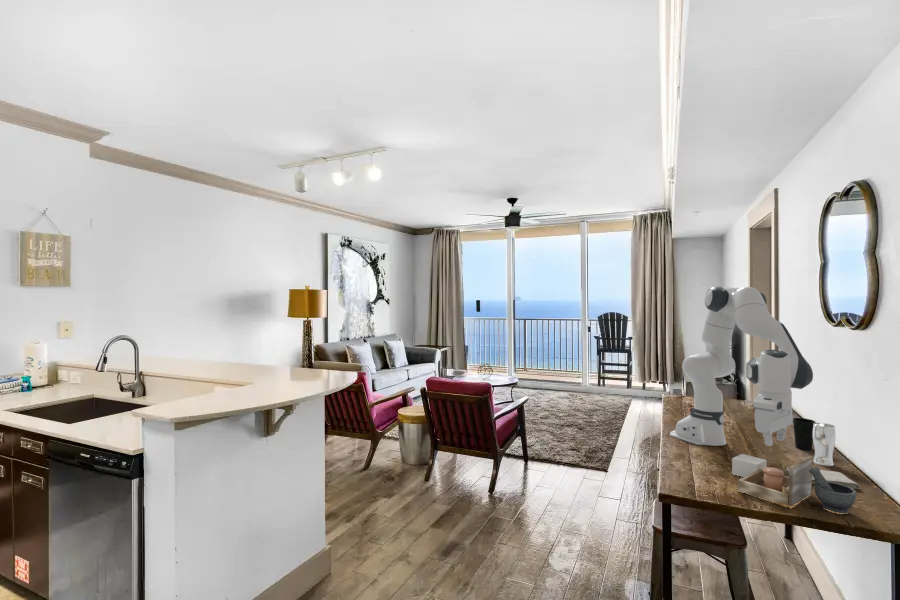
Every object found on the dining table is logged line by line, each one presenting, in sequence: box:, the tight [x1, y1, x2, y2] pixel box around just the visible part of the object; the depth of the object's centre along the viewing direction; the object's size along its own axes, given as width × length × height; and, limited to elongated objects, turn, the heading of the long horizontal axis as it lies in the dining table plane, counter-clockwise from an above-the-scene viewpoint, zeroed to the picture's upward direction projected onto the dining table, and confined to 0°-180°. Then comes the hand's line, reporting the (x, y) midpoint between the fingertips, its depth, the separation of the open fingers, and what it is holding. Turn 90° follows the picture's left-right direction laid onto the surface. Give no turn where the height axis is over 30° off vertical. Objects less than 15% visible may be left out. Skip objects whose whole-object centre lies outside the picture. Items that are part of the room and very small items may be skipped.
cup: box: [792, 417, 817, 452], centre depth 196 cm, size 8×8×12 cm
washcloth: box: [785, 466, 861, 490], centre depth 162 cm, size 12×18×3 cm, turn 72°
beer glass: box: [812, 422, 837, 467], centre depth 179 cm, size 7×7×15 cm
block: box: [731, 453, 768, 478], centre depth 166 cm, size 8×8×6 cm
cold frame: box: [737, 455, 813, 506], centre depth 151 cm, size 15×17×13 cm
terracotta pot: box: [763, 466, 785, 492], centre depth 151 cm, size 6×6×7 cm
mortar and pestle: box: [809, 467, 858, 513], centre depth 140 cm, size 11×9×12 cm
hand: (774, 442), depth 151 cm, fingers open, 8 cm apart
